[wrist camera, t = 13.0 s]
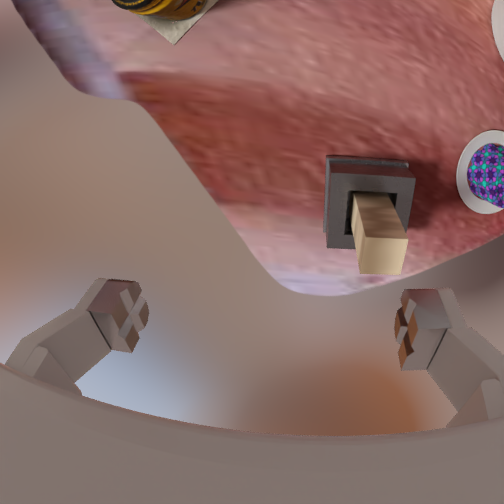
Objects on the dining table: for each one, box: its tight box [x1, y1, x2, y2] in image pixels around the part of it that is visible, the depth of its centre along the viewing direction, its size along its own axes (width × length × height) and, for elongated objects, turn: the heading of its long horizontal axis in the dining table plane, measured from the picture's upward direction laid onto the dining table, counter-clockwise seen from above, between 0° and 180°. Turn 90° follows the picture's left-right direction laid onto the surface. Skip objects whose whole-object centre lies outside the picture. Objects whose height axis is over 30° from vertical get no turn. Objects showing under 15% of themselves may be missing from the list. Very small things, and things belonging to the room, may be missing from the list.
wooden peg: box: [349, 190, 408, 275], centre depth 32 cm, size 4×4×12 cm
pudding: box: [456, 130, 504, 214], centre depth 30 cm, size 12×12×5 cm
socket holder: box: [323, 155, 416, 249], centre depth 36 cm, size 10×10×5 cm
